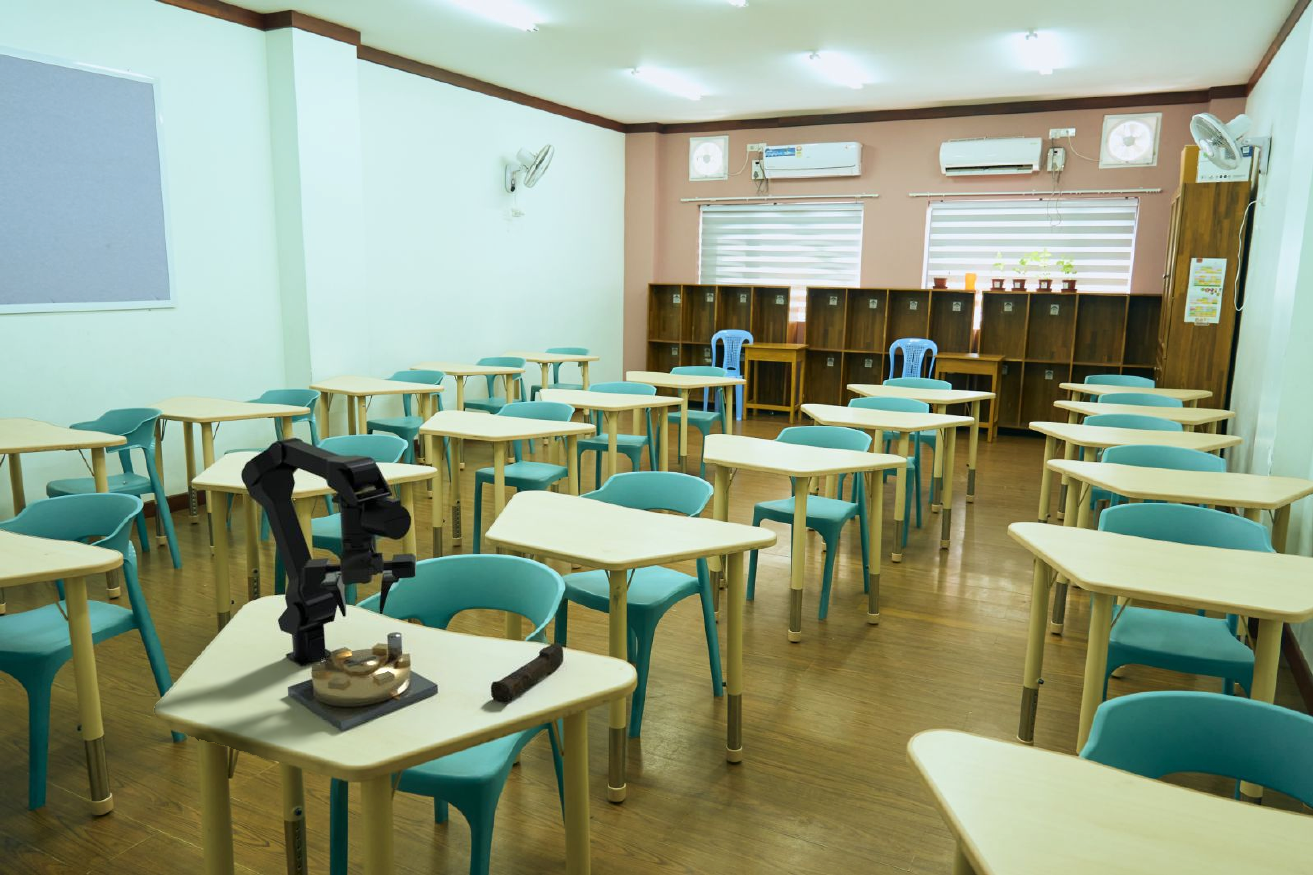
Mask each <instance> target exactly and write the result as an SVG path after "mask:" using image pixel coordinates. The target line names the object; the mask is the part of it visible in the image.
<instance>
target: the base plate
mask: <svg viewBox="0 0 1313 875" xmlns="http://www.w3.org/2000/svg"><path fill="white" fill-rule="evenodd" d="M438 693H439V685H438V684H437V683H436V682H433V681H431V680H430V679H427V678H426V677H424V676H422V675H420V674H418V673H417V672H415V671H413V670H411V682H410V684H409V686H408V687H407V688H406V689H405V690H404V691H403V692H401V693H400V694H398V695H396V696H394V697H392V698H390V699H387V700H385V701H382V702H378V703H374V704H369V705H363V706H351V707H343V706H334V705H329V704H326V703H323V702H321V701H319V700H318V699H317V698H316V697H315V696H314V694H313V680H312V678H310V679H308V680H305V681H302V682H299V683H296V684H293V685H290V686H287V695H288V696H289V697H290V698H292V699H293V700H294V701H296V702H298V703H299V704H300V705H302V706H304V707H305V708H306V709H308V710H310V711H311V712H313V713H314V714H315V715H317V716H319V717H320V718H321V719H323V720H324V721H325V722H327V723H329V724H330V725H332V726H333V727H335V728H336V729H337V730H339V731H340V732H343V731H346V730H349V729H351V728H353V727H356V726H359V725H362V724H363V723H366V722H369V721H371V720H374V719H377V718H379V717H381V716H384V715H386V714H388V713H392V712H393V711H396V710H398V709H401V708H403V707H406V706H409V705H411V704H414V703H415V702H419V701H421V700H423V699H425V698H428V697H429V698H430V697H431V696H433V695H435V694H438Z"/></svg>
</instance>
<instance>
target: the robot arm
mask: <svg viewBox="0 0 1313 875" xmlns="http://www.w3.org/2000/svg"><path fill="white" fill-rule="evenodd" d="M298 469H299V470H302V471H304V472H307V473H310V474H312V475H314V476H316V477H320V478H322V479H324V480H325V481H326V484H327V486H328V488H330V489H331V490H333V491H334V492H336V493H337V494H336V495H334V496H333V497H332V498H331V503H334V504H338V505H339V514H340V532H341V533H340V534H341V554H340V556H339V559H340V560H339V563H331V561H330V558H314V559H313V558H312V554H311V553H310V552H311V551H310V548H309V547H308V544H307V541H306V537H305V535H304V532H303V529H302V526H301V523H300V519H299V518H298V515H297V512H296V509H295V506H294V502H293V500H292V497H293V492H294V489H295V486H296V481H295V476H294V474H295V473H296V472H297V471H298ZM240 477H241V480H242V482H243V484H244V486H245V489H246V490H247V492H248V494H249V496H250V497H251V498H252V500H254V501H256V503H258V504H259V505H260V506H261V507H263V510H264V512H265V515H266V517H267V520H268V523H269V527H270V530H271V532H272V535H273V539H274V541H275V544H276V547H277V550H278V552H279V556H280V559H281V561H282V564H283V568H284V571H285V573H286V577H287V578H288V584H287V588H286V591H285V596H284V601H285V604H286V609H284V611H283V612H282V614H281V615H280V617H278V618H277V623H278V627H279V630H280V631H281V632H283V633H286V634H290V635H291V641H292V642H291V643H292V651H291V652H288V653H286V654H285V657H286V658H287V659H288V660H290V661H292V662H293V663H295V664H297V665H298V666H300V667H304V666H308V665H310V664H313V663H316V662H319V661H324V660H327V659H329V658H331V651H330V650H328V648H326V636H325V625H326V624H329V623H333V622H334V621H335V620H336V619H335V618H336V614H337V610H338V608H339V611H340V613H341V614H342V617H343V618H346V616H347V604H346V597H345V590H344V586H350V585H354V584H355V585H356V584H362V585H367V584H369V583H371V582H372V580H373V576H377V575H379V574H382V577H381V583H380V584H381V585H380V595H379V605H378V606H379V607H378V608H379V615H382V614H383V612H384V608H385V605H386V601H387V598H388V595H389V593H390V590H391V588H392V586H393V584H396V583H399V582H400V579H410V578H411V579H412V578H415V577H416V574H417V556H416V555H415V554H413V553H399V554H393V555H392V559H391V560H384V555H383V552H378V549H377V548H378V547H377V537H381V538H385V539H388V540H389V539H390V540H393V541H394V540H395V541H398V540H401V539H403V538H404V537H405V536H406V535H407V533H409V531H410V529H411V525H412V516H411V514H410V512H409V510H408V509H407V508H406V507H404V506H402V502H401V499H400V498H396V497H394V498H392V497H393V492H392V491H391V488H390V484H389V483H388V482H387V481H386V479H385V477H384V475H383V473H382V471H381V469H380V467H379V466H378V464H377V461H376V460H375V459H373V458H372V457H370V456H365V455H357V454H356V455H341V454H338V453H334V452H332V451H329V450H327V449H323V448H321V447H319V446H316V445H312V444H310V443H307V442H304V441H303V440H302V439H301V438H297V437H291V438H285V439H284V438H283V439H279V440H276V441H274V442H272V443H271V444H270V446H268V447H267V449H265V450H263V451H261V453H258V454H257V455H255V456H254V457H252V458H251V459H250V460H248V461H247V462H246V463H245V464H244V467H243V468H242V470H241V476H240ZM372 489H373V490H372ZM363 491H364V492H363ZM360 492H361V493H360Z"/></svg>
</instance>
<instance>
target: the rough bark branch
mask: <svg viewBox="0 0 1313 875" xmlns="http://www.w3.org/2000/svg"><path fill="white" fill-rule="evenodd" d="M538 654H539V655H537V656H536V657H535V658H534V659H532V660H531V661H529V662H527V663H525V664H524V665H523V666H521V667H520V668H518V669H516V670H515V671H513V672H511V673H509V674H508V675H507V676H504V677H503V678H501V679H500V680H496V681H493V682H492V683H491V685H490V694H491V695H490V696H491V698H492V699H493V701H496V702H499V703H501V704H508V703H510V700H514V698H515V696H516V695H517V694H518V693H520V692H522V691H523V690H524V689H526V688H527V687H529V686H532V685H533V683H536V682H537V681H538V680H539V679H541V678H542V677H544V676H545V675H552V674H553V673H554V672H556V671H558V669H559V668H560V666H561V665H562V664H563V662H564V649H563V646H562V644H561V643H559V642H554V643H551V644H549V645H548V646H546V647H543V648H542V649H540V650H539V652H538Z"/></svg>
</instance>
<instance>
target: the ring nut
mask: <svg viewBox="0 0 1313 875" xmlns="http://www.w3.org/2000/svg"><path fill="white" fill-rule="evenodd" d="M402 638H403V636H402V633H401V632H397V631H394V632H393V631H392V632H390V633H388V634H387V643H379V642H377V643H376V644H375V645H373V646H372V648H364V649H362V648H361V649H356V650H352V649H349V648H348V647H346V646H344V647H342V648H338V649H336V650H332V651H331V657H329V658H326V659H324V660H322V661H321V662H320V663H319V664H312V665H311V671H310V672H311V679H312V680H313V694H314V696H315V697H316V698H317V699H318V700H319V701H321V702H323V703H326V704H329V705H334V706H343V707H351V706H363V705H369V704H374V703H378V702H382V701H385V700H387V699H390V698H392V697H394V696H396V695H398V694H400V693H401V692H403V691H404V690H405V689H406V688H407V687H408V686H409V684H410V682H411V671H412V670H411V654H410V653H403V640H402Z"/></svg>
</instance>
